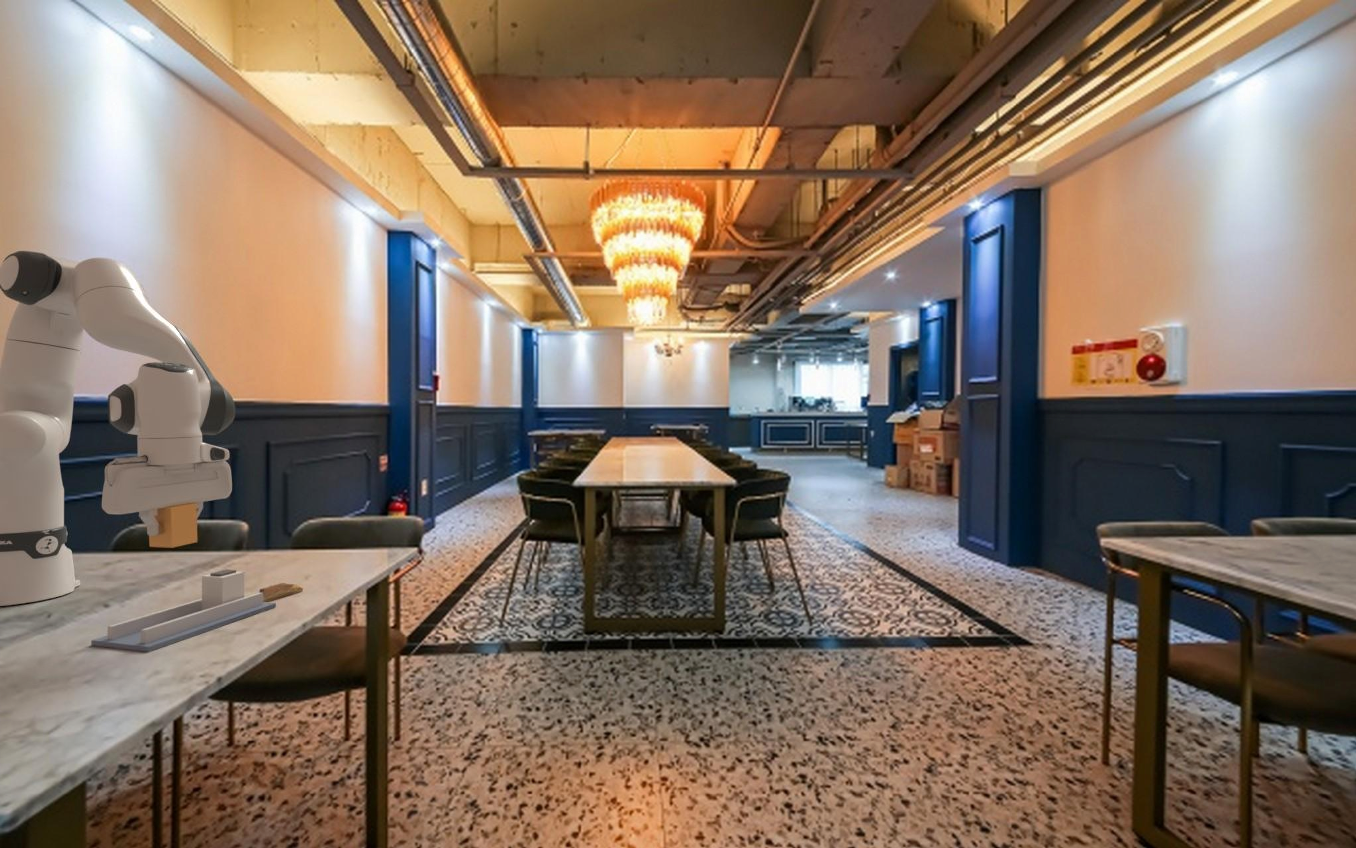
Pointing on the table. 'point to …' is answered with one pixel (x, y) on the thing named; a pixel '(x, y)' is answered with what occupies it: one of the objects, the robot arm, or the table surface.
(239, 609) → the rail panel
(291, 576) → the table surface
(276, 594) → the shard
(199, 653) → the table surface
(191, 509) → the block
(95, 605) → the table surface
